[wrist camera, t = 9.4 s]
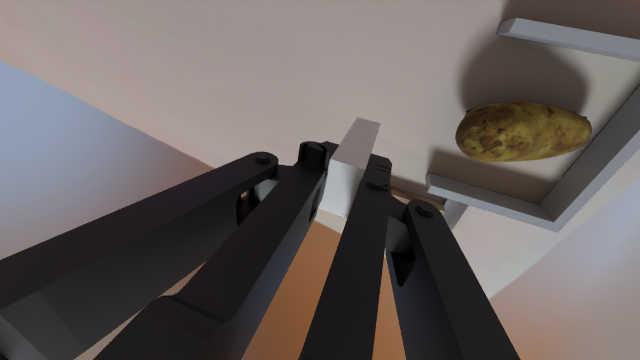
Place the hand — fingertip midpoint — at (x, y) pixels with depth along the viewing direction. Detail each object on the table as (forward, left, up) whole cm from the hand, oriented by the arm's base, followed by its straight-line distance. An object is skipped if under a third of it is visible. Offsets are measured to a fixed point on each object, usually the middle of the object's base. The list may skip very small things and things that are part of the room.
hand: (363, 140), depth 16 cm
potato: (+1, +16, -20) cm, 26 cm away
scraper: (+15, +10, -20) cm, 27 cm away
